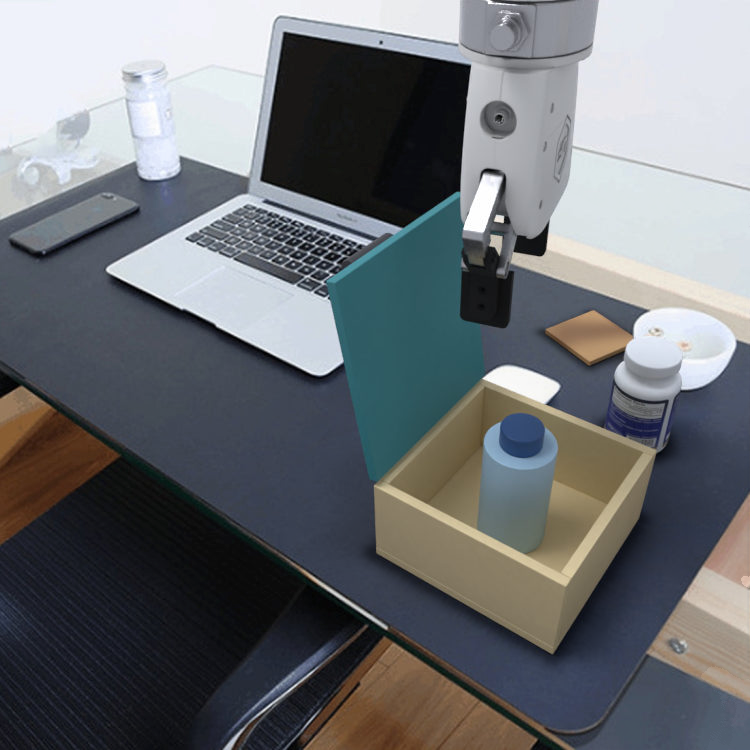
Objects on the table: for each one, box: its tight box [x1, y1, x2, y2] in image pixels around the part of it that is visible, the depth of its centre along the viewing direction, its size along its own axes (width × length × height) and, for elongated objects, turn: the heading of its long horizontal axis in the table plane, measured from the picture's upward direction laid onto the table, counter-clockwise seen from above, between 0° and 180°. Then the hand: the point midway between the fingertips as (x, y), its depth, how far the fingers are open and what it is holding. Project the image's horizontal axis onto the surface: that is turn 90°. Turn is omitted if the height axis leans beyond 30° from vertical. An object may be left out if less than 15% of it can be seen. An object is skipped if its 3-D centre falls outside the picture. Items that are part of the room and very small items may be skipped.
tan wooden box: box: [373, 378, 657, 655], centre depth 62 cm, size 16×16×8 cm
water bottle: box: [477, 413, 558, 554], centre depth 61 cm, size 5×5×11 cm
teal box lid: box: [325, 191, 486, 483], centre depth 60 cm, size 16×16×4 cm
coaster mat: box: [544, 309, 634, 367], centre depth 86 cm, size 7×7×1 cm
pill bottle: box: [603, 335, 684, 454], centre depth 71 cm, size 6×6×10 cm
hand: (505, 285), depth 55 cm, fingers open, 9 cm apart
